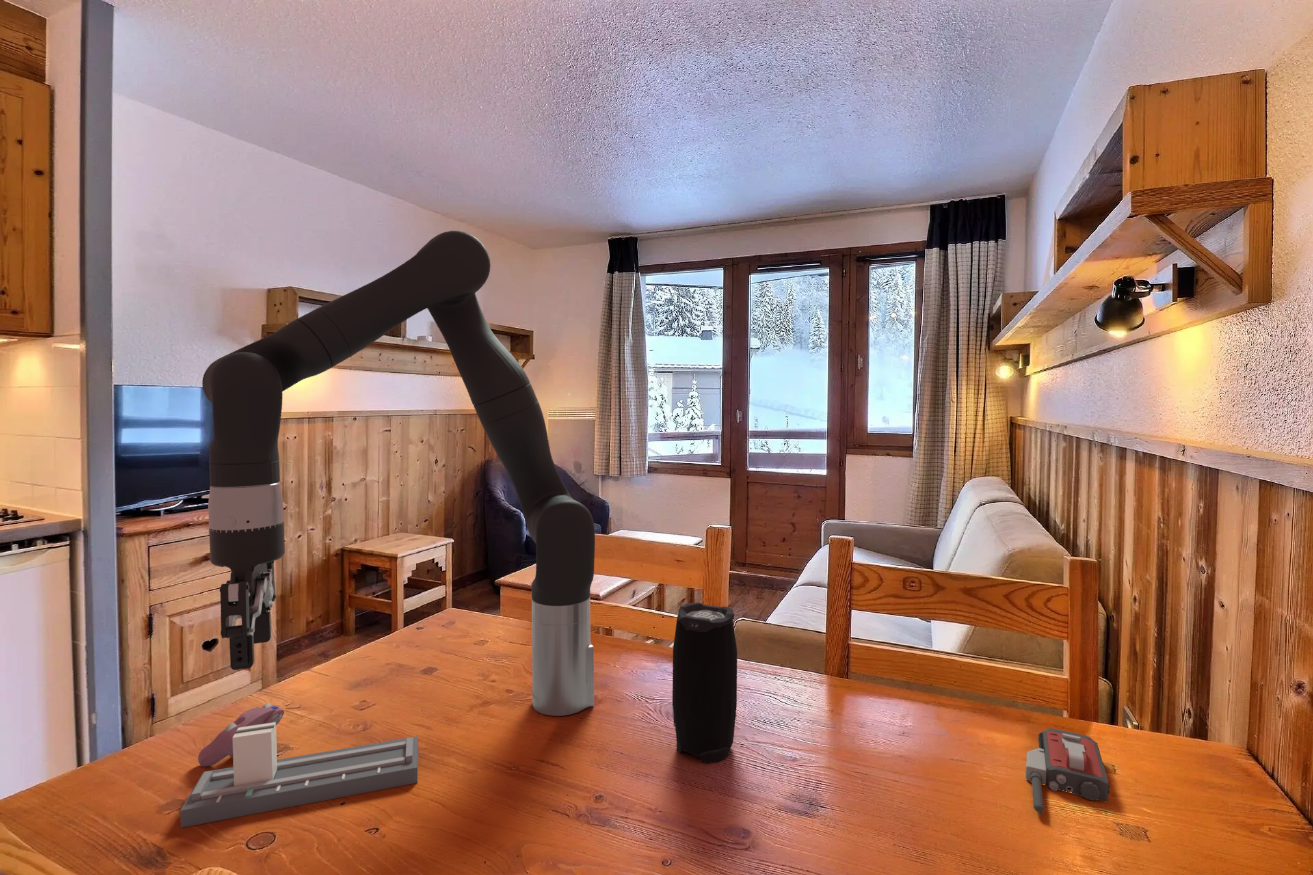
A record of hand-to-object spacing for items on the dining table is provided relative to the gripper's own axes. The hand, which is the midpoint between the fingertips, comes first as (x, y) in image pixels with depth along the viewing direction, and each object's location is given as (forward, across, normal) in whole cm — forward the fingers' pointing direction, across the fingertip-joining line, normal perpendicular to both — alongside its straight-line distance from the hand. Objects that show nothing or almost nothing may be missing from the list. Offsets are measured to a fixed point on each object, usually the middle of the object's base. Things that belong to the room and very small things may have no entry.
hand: (252, 654), depth 76 cm
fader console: (+18, 0, -6) cm, 19 cm away
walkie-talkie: (+19, -32, -96) cm, 103 cm away
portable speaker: (+18, -9, -56) cm, 59 cm away
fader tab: (+16, 0, 0) cm, 16 cm away
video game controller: (+18, +12, +4) cm, 22 cm away
